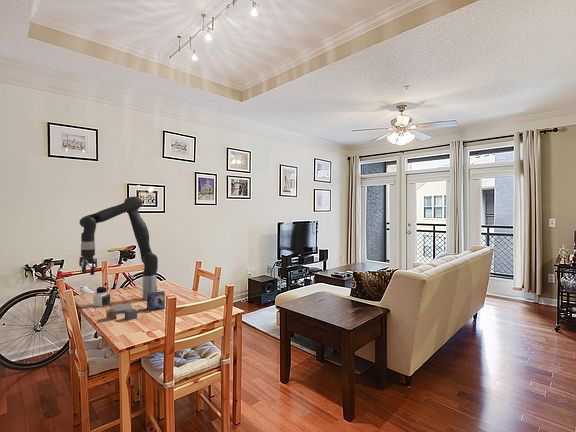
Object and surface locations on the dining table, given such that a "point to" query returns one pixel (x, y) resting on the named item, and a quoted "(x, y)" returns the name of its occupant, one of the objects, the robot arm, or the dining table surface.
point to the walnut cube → (111, 314)
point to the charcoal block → (130, 314)
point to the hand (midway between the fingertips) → (88, 274)
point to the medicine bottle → (101, 297)
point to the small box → (155, 300)
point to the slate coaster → (121, 308)
